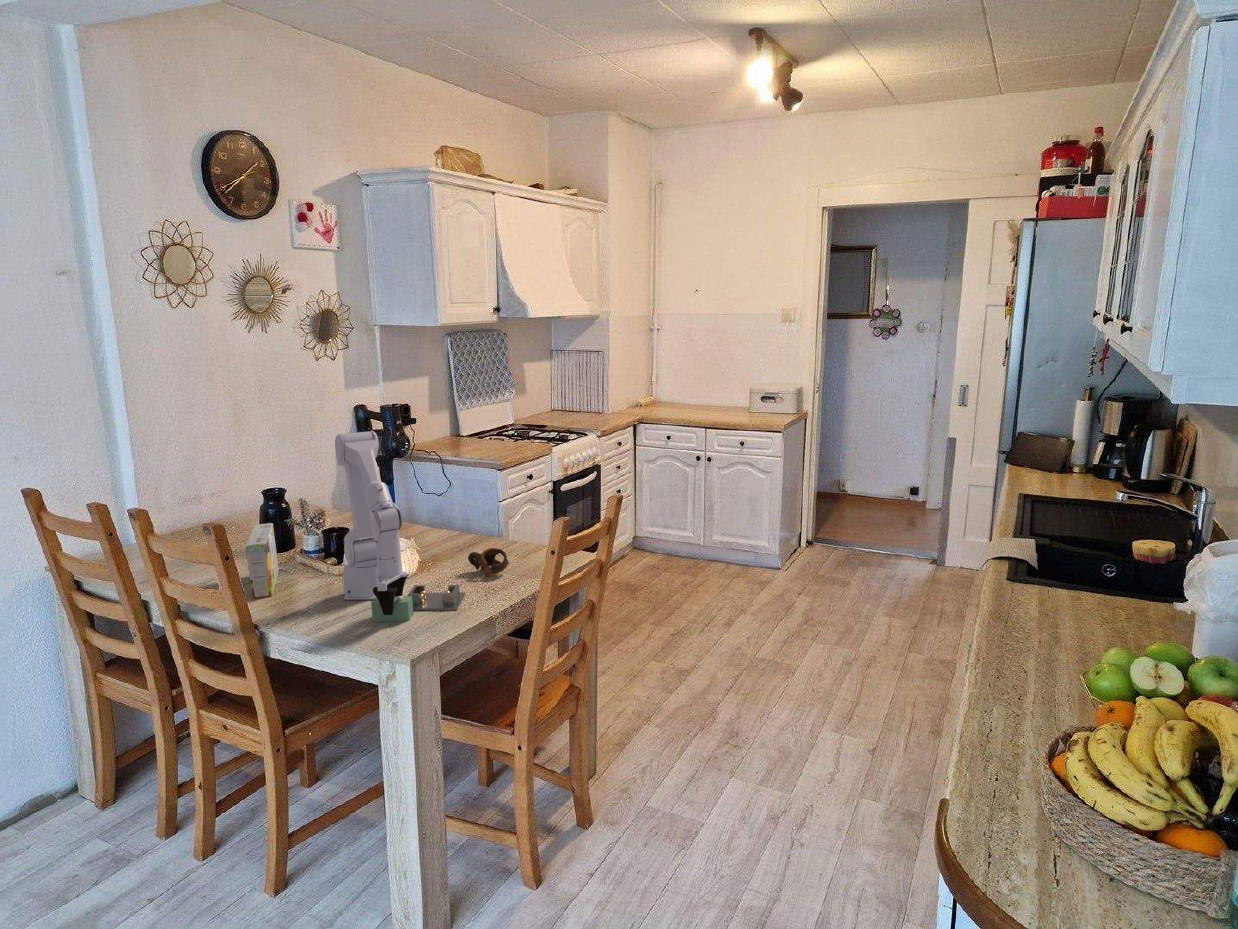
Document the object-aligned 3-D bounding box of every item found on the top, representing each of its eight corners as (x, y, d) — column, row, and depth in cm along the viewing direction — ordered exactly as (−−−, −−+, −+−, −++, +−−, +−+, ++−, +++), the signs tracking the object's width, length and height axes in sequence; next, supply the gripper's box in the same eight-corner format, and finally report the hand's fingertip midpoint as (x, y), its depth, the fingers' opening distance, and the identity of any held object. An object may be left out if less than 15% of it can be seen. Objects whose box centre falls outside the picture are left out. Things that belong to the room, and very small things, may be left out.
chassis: (402, 610, 204) (401, 597, 203) (413, 595, 215) (412, 582, 214) (457, 610, 204) (456, 597, 203) (465, 594, 215) (464, 582, 214)
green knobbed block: (372, 621, 198) (371, 599, 197) (377, 615, 202) (375, 593, 201) (409, 621, 198) (407, 599, 197) (413, 615, 202) (411, 593, 201)
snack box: (259, 574, 233) (253, 524, 230) (279, 572, 235) (274, 522, 232) (250, 599, 214) (244, 545, 210) (273, 596, 215) (267, 542, 212)
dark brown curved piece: (509, 567, 238) (513, 548, 232) (501, 591, 230) (505, 572, 225) (470, 557, 237) (472, 538, 232) (461, 581, 230) (463, 561, 225)
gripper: (396, 565, 189) (400, 619, 192) (412, 547, 204) (416, 597, 206) (367, 565, 189) (371, 620, 192) (384, 547, 204) (388, 598, 206)
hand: (392, 608), depth 199 cm, fingers open, 7 cm apart
